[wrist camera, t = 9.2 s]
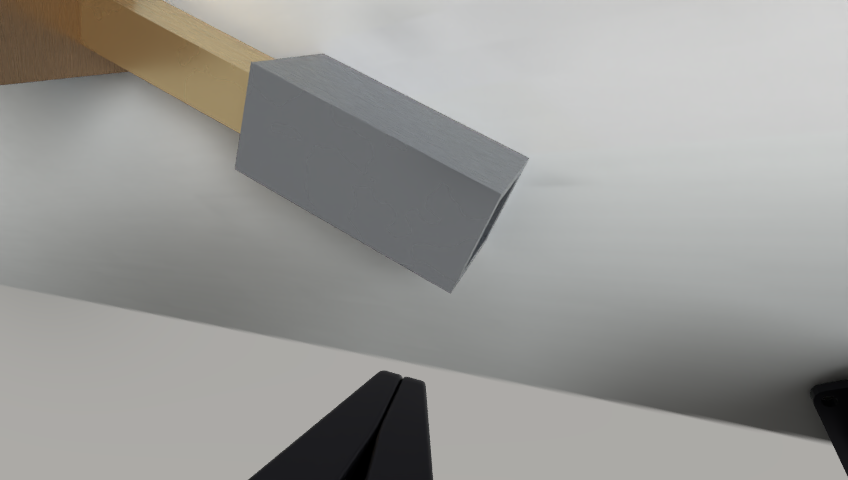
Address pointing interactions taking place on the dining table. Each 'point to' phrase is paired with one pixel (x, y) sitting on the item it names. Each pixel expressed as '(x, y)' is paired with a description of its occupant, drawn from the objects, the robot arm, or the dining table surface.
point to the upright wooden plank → (128, 49)
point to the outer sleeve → (375, 163)
